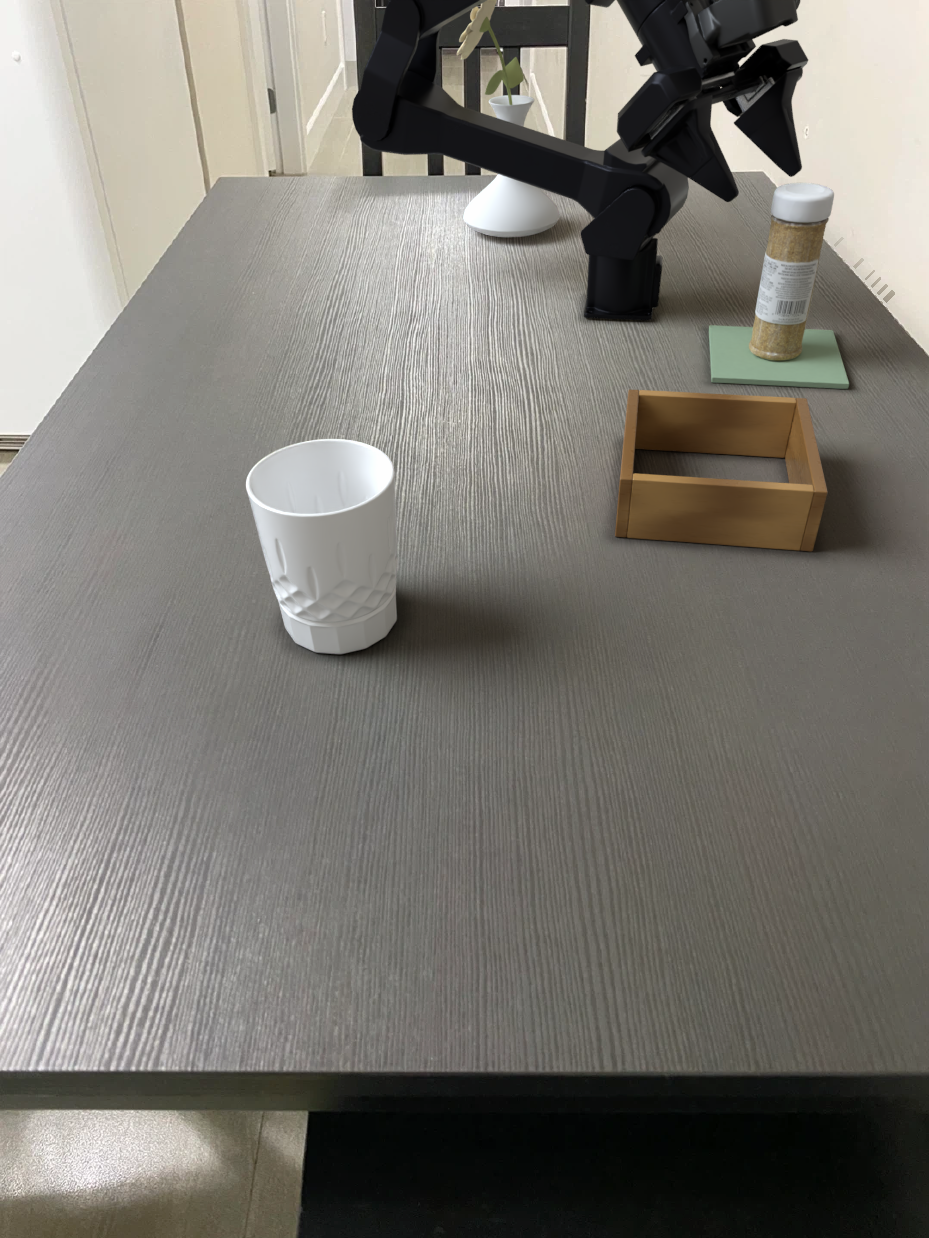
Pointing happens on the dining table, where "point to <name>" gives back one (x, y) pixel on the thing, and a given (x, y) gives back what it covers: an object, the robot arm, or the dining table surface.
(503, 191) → the flower in vase
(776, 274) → the sprinkles bottle
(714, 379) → the mat
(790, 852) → the dining table surface
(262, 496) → the white cup
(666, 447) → the wooden box
